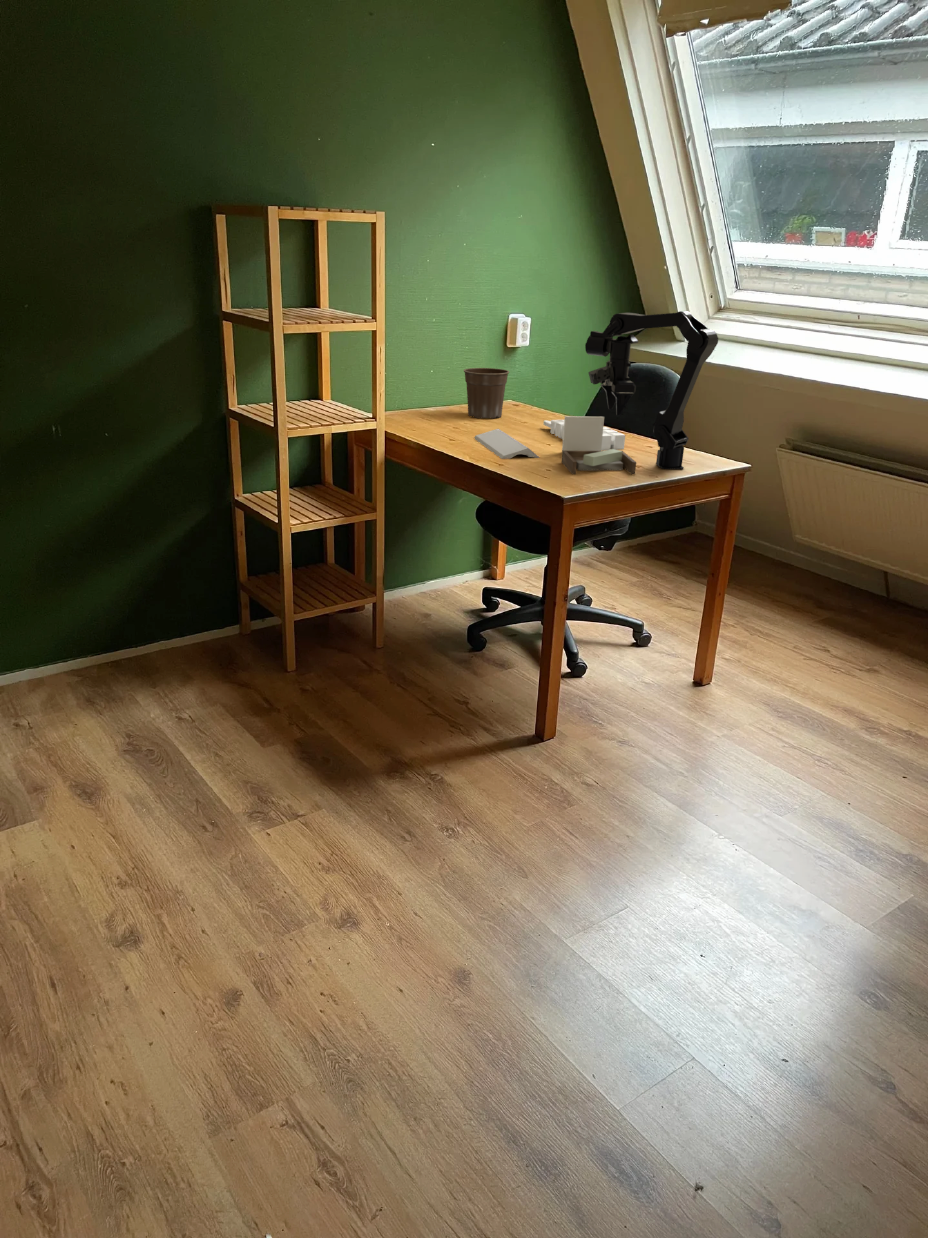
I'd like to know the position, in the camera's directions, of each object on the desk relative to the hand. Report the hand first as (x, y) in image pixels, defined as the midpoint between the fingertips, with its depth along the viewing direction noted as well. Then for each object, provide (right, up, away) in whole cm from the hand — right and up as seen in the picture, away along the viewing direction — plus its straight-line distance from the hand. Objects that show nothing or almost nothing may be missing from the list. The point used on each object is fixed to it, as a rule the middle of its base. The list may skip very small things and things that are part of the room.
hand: (614, 412), depth 269 cm
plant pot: (-37, +12, +58) cm, 70 cm away
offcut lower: (-6, -19, -11) cm, 23 cm away
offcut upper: (-5, -17, -11) cm, 21 cm away
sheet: (-9, -11, +8) cm, 16 cm away
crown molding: (-32, -9, +11) cm, 35 cm away
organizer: (-7, -3, +28) cm, 29 cm away
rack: (-7, -18, -10) cm, 22 cm away
